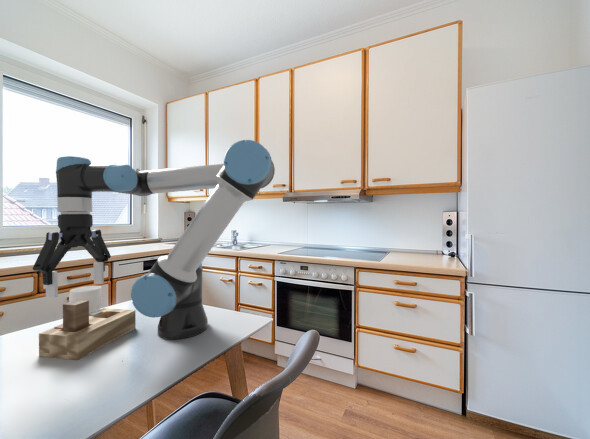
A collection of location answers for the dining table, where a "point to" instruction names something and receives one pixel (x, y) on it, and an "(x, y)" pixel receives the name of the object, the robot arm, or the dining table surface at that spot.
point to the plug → (75, 315)
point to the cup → (87, 296)
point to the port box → (87, 334)
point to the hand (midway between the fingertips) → (77, 289)
